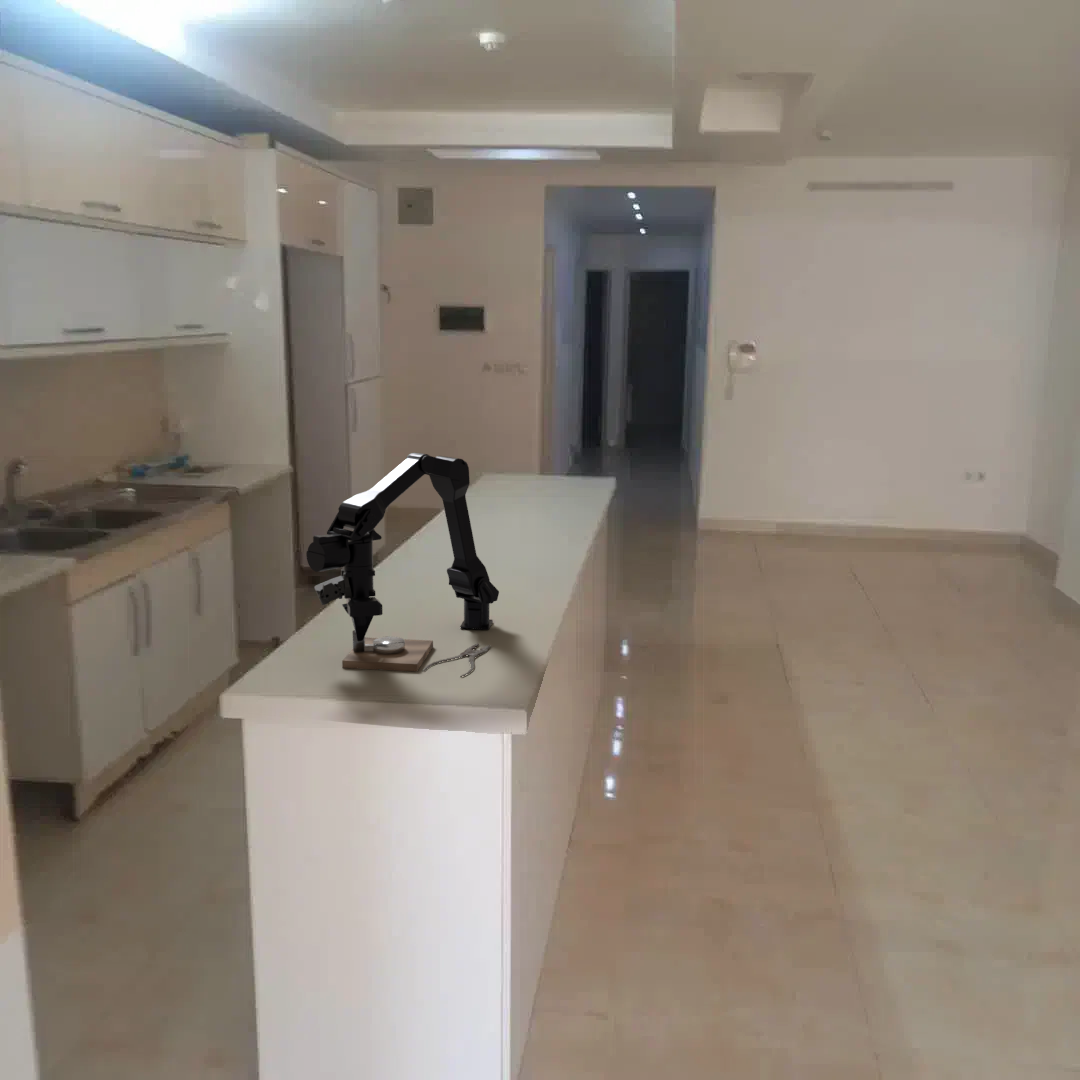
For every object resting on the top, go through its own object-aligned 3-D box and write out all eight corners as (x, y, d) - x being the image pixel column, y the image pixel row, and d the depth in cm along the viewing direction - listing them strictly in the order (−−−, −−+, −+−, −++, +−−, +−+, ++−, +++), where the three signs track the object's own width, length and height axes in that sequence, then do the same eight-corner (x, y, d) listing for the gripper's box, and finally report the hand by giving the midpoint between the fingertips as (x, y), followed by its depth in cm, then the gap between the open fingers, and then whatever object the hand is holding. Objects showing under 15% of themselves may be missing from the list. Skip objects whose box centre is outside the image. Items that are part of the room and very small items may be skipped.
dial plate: (363, 644, 215) (363, 637, 214) (433, 647, 213) (432, 640, 213) (342, 667, 200) (342, 660, 200) (417, 671, 198) (416, 663, 198)
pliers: (419, 672, 197) (447, 640, 216) (419, 676, 197) (447, 644, 216) (467, 676, 195) (491, 643, 214) (467, 680, 195) (491, 647, 215)
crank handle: (404, 643, 210) (403, 624, 209) (405, 653, 204) (405, 634, 203) (353, 645, 208) (352, 626, 207) (352, 655, 202) (352, 636, 201)
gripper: (311, 557, 206) (313, 632, 209) (322, 576, 189) (324, 657, 191) (366, 554, 209) (367, 627, 212) (382, 572, 192) (383, 652, 195)
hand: (360, 640), depth 203 cm, fingers closed
